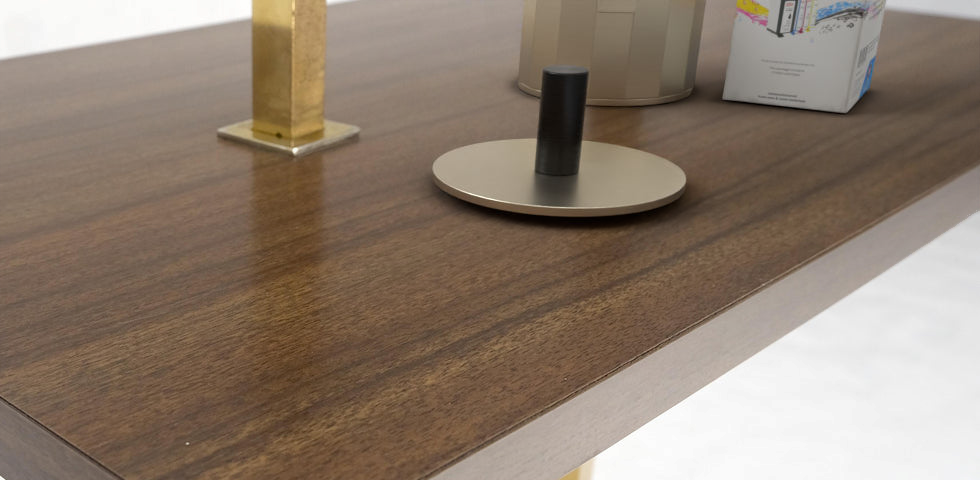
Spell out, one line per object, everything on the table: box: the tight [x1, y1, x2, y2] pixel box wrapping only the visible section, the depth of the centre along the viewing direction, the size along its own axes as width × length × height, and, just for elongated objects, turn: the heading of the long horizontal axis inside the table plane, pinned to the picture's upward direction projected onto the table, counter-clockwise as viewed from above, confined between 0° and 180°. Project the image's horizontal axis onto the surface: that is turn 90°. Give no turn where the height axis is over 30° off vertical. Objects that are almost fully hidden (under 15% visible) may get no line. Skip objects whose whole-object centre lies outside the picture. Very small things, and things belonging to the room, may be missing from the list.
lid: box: [431, 65, 687, 218], centre depth 63 cm, size 14×14×7 cm
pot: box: [517, 0, 707, 107], centre depth 86 cm, size 13×18×8 cm
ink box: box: [721, 0, 887, 114], centre depth 82 cm, size 9×8×12 cm
